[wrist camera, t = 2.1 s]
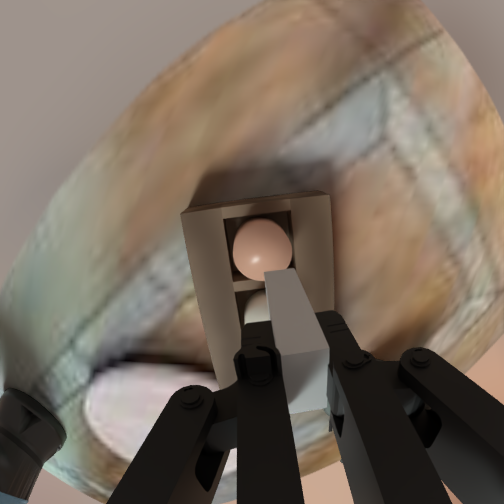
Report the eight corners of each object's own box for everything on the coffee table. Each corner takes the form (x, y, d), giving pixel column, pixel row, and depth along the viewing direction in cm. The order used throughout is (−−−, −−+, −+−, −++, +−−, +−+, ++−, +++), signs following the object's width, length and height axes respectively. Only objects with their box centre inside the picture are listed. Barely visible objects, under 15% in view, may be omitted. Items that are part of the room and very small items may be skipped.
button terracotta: (237, 270, 25) (237, 284, 22) (230, 220, 24) (228, 228, 21) (288, 263, 25) (294, 276, 22) (283, 213, 24) (289, 220, 21)
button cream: (247, 333, 27) (248, 351, 24) (241, 292, 26) (241, 308, 23) (293, 327, 27) (298, 344, 24) (290, 285, 26) (296, 300, 23)
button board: (223, 378, 32) (222, 399, 28) (187, 207, 26) (180, 213, 22) (324, 364, 32) (332, 383, 28) (318, 190, 26) (329, 194, 22)
